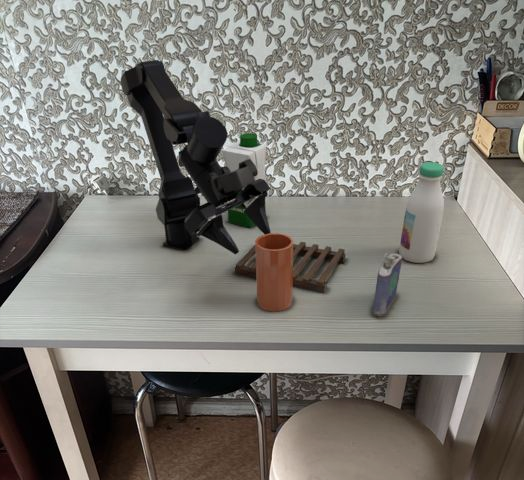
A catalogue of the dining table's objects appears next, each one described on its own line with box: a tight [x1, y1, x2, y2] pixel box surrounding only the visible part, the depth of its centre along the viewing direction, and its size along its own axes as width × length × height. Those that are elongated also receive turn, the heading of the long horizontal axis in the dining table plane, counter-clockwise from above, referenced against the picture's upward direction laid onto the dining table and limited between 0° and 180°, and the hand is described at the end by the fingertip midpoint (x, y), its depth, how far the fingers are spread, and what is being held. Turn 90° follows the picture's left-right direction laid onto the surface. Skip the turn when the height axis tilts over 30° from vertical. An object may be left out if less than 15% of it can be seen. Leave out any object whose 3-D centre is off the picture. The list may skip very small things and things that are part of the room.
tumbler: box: [254, 232, 294, 312], centre depth 101 cm, size 7×7×13 cm
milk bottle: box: [398, 161, 445, 264], centre depth 112 cm, size 8×8×20 cm
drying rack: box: [234, 241, 347, 294], centre depth 115 cm, size 20×15×2 cm
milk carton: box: [221, 132, 267, 229], centre depth 129 cm, size 9×9×20 cm
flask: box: [372, 252, 403, 318], centre depth 100 cm, size 9×3×11 cm, turn 151°
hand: (253, 243), depth 101 cm, fingers open, 9 cm apart
